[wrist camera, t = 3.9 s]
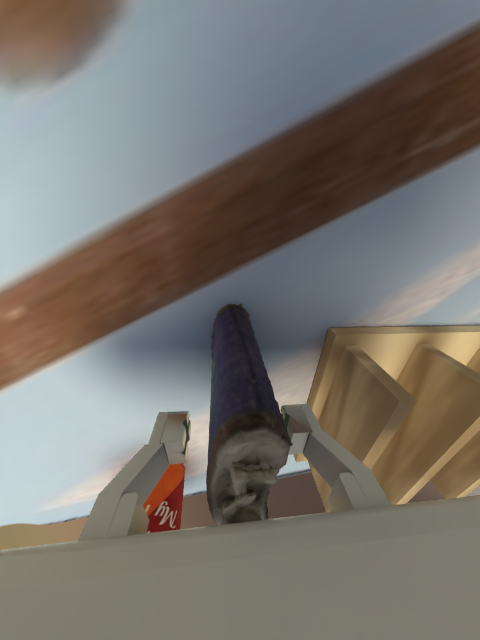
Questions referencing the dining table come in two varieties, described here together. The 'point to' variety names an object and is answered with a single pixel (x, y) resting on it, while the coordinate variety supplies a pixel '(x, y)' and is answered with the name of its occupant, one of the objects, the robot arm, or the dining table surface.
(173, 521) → the paper cup
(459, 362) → the rack
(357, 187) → the dining table surface
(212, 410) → the flask
